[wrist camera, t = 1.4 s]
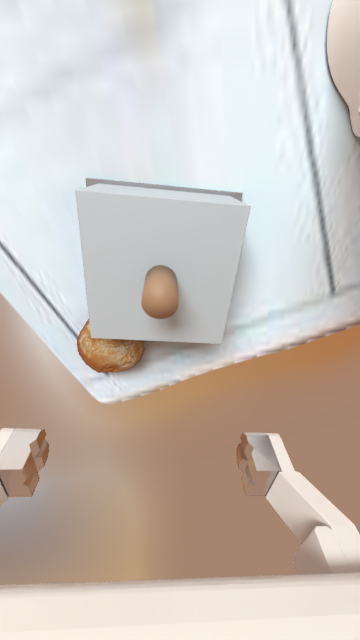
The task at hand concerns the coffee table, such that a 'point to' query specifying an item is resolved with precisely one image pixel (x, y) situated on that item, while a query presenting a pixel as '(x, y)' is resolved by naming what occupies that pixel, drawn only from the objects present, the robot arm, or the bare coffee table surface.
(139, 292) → the cover
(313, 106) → the coffee table surface
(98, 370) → the bread roll
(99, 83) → the coffee table surface
